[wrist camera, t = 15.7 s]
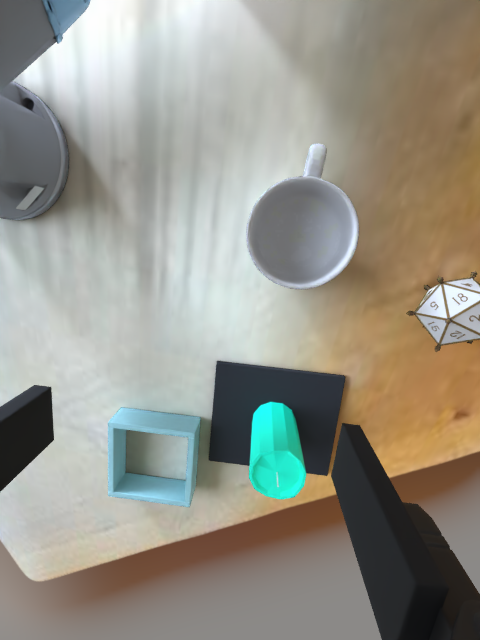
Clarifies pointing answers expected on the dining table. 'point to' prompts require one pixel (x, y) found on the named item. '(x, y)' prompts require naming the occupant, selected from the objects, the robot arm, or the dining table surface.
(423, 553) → the robot arm
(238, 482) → the dining table surface
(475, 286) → the game die
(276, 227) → the teacup
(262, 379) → the mat
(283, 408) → the candle
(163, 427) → the tub
